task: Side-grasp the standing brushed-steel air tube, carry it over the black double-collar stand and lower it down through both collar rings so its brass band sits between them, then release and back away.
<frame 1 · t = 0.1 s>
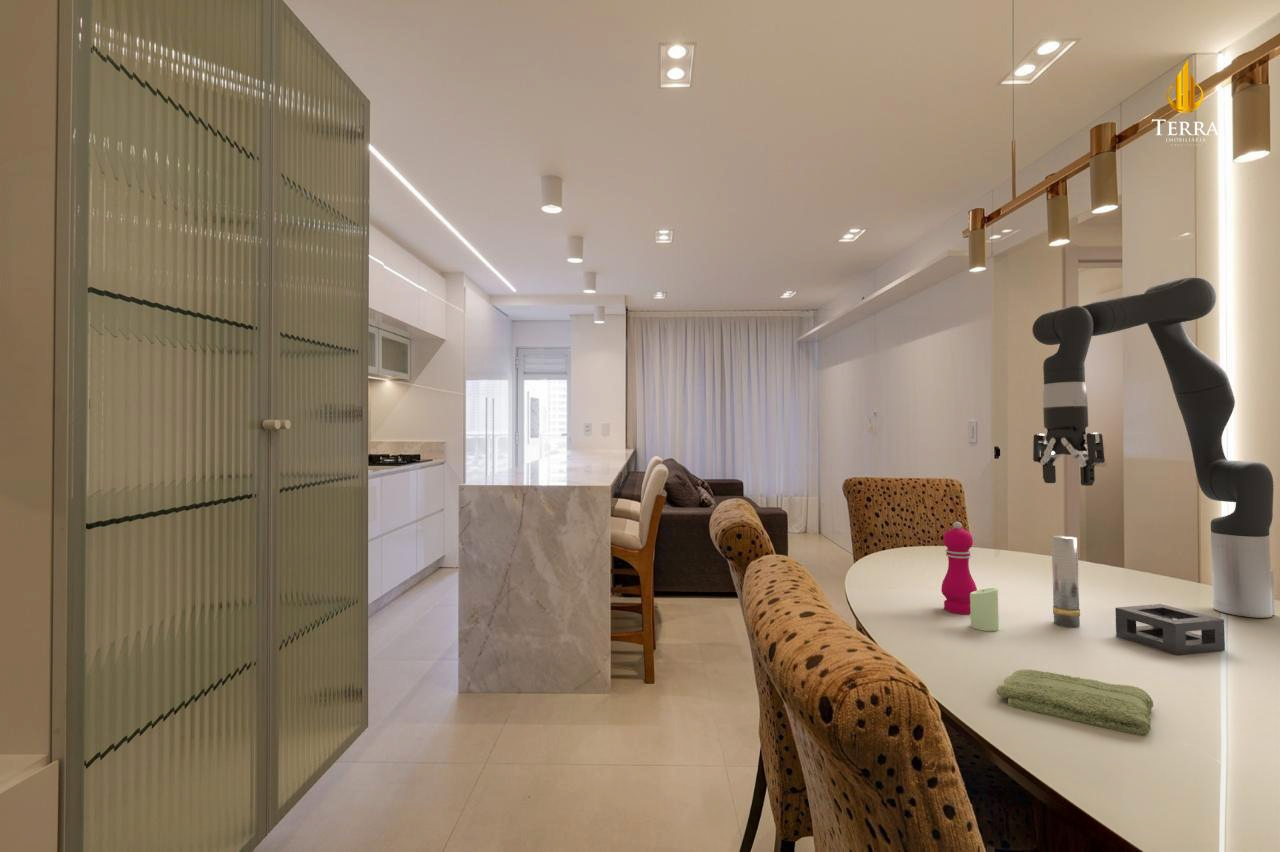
hand: (1067, 484, 125), 29 cm above the table, tool pointing down, fingers open, 8 cm apart
pepper mill: (959, 611, 137), on the table
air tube: (1066, 624, 126), on the table
collar stand: (1168, 642, 114), on the table
candle: (984, 628, 124), on the table
washcloth: (1073, 709, 88), on the table
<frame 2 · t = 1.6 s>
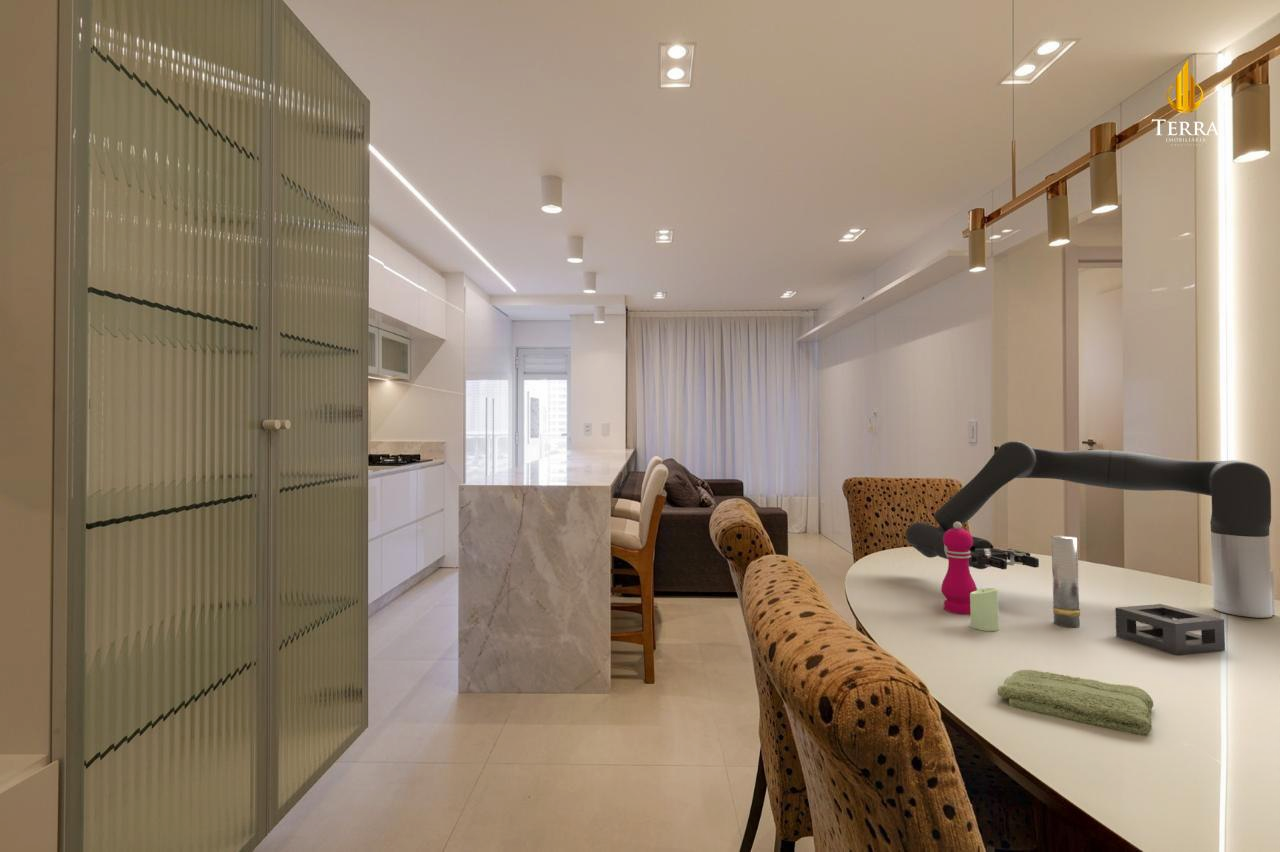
hand: (1021, 563, 137), 10 cm above the table, tool horizontal, fingers open, 8 cm apart
nothing on the table moved.
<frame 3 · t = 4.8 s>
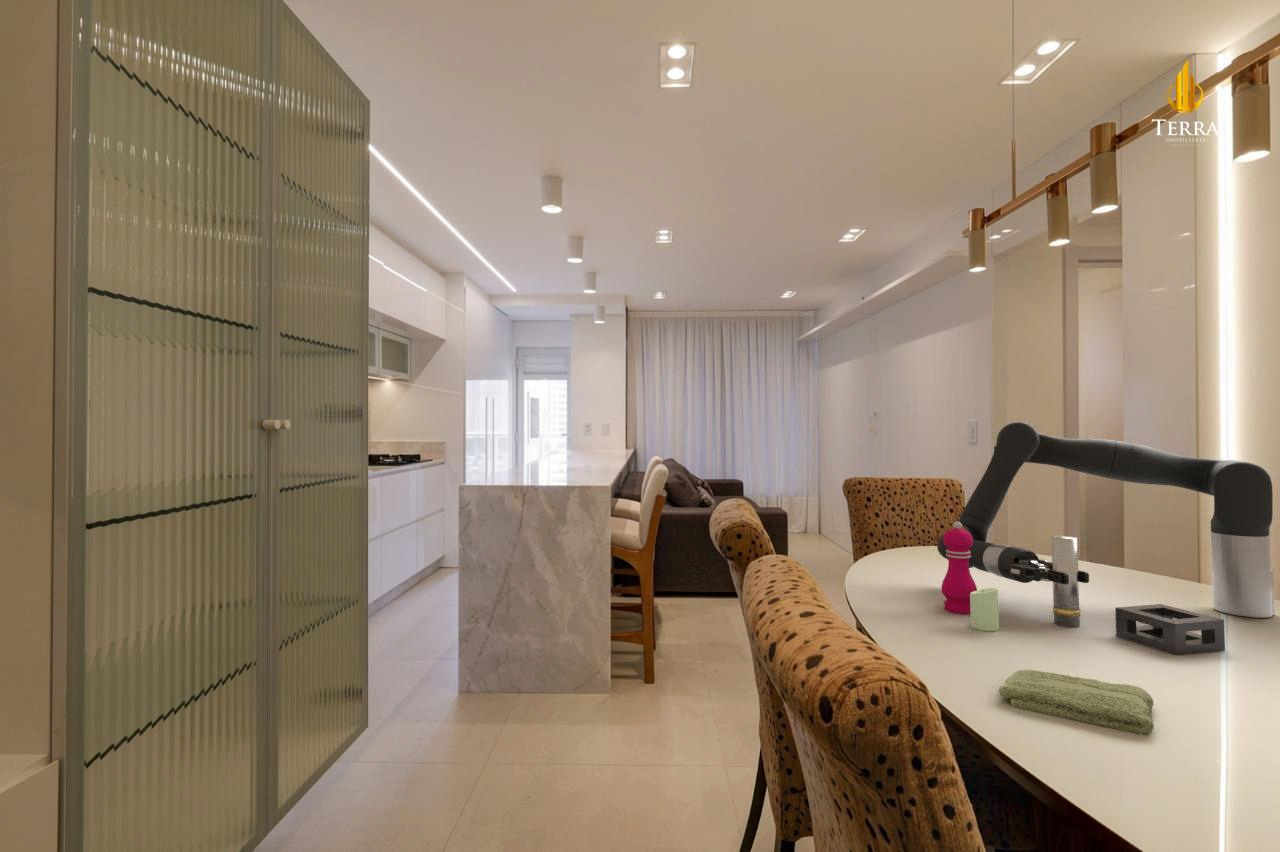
hand: (1077, 578, 124), 10 cm above the table, tool horizontal, fingers closed on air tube, 4 cm apart
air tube: (1066, 624, 126), on the table, touching gripper
everything else where it was.
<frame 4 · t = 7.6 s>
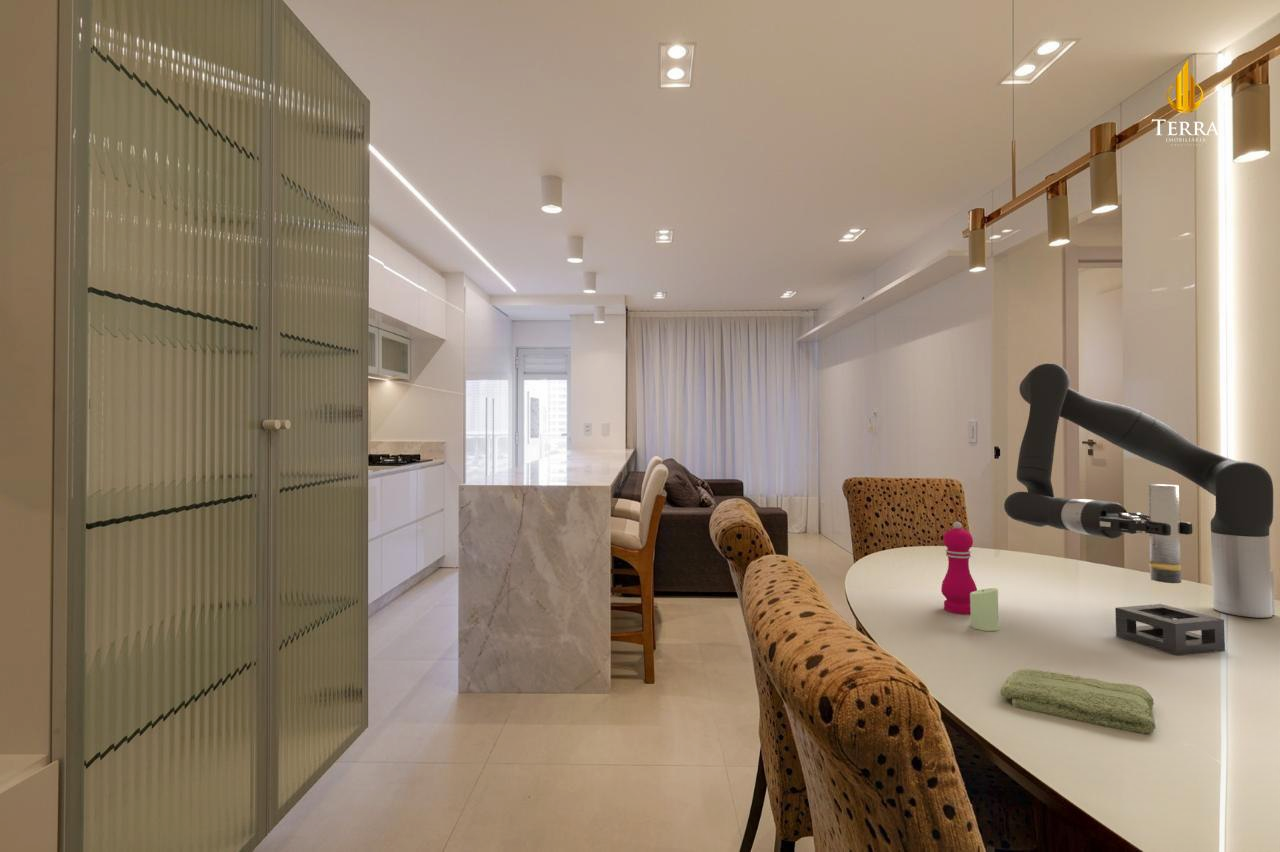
hand: (1179, 529, 112), 22 cm above the table, tool horizontal, fingers closed on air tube, 4 cm apart
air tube: (1165, 580, 114), point 12 cm above the table, touching gripper
everything else where it was.
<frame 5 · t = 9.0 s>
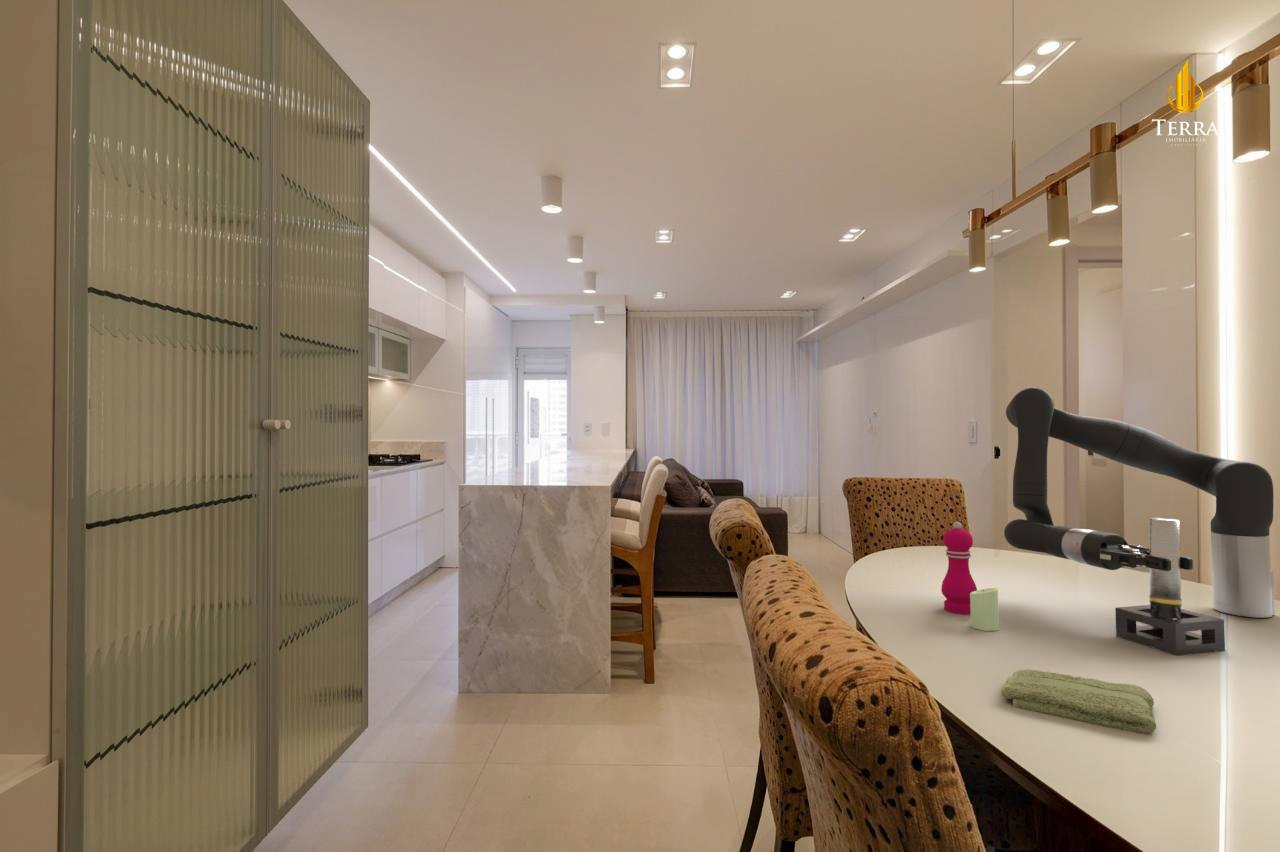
hand: (1180, 564, 112), 15 cm above the table, tool horizontal, fingers closed on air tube, 4 cm apart
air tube: (1165, 615, 114), point 5 cm above the table, touching gripper
everything else where it was.
when the fingers open (11 cm above the table, at t = 10.3 s): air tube drops 1 cm, resting in collar stand.
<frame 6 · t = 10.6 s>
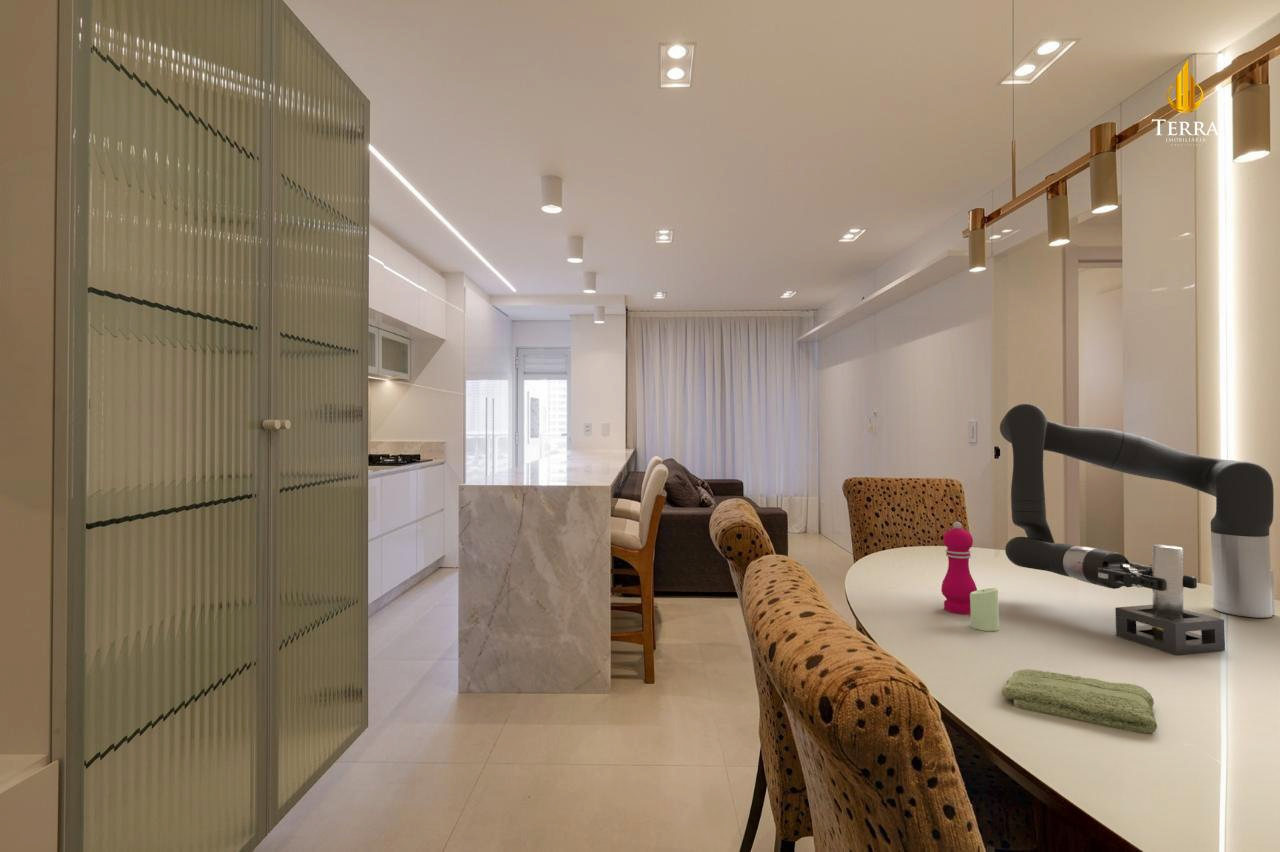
hand: (1179, 584, 112), 11 cm above the table, tool horizontal, fingers open, 6 cm apart
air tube: (1167, 642, 114), resting in collar stand
everything else where it was.
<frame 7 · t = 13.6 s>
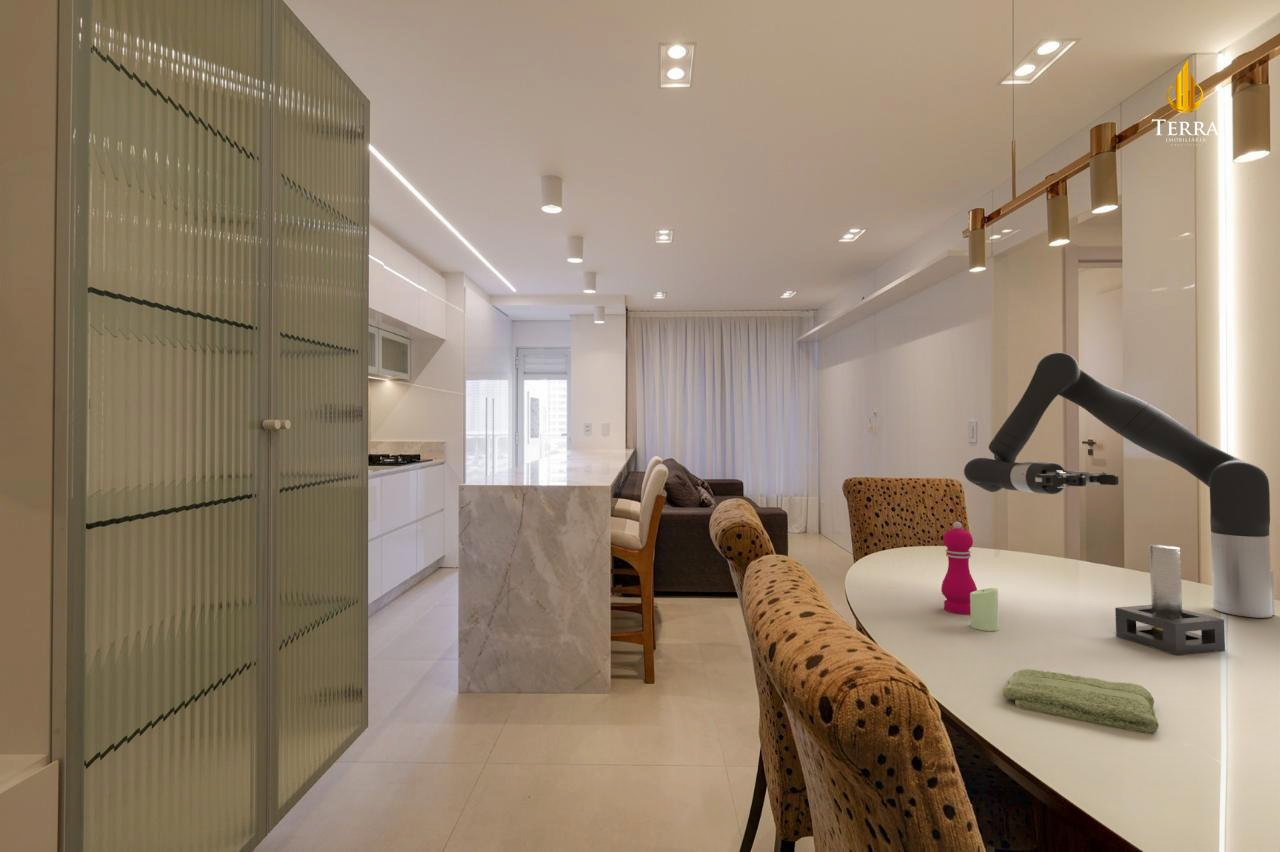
hand: (1101, 480, 131), 29 cm above the table, tool horizontal, fingers open, 8 cm apart
nothing on the table moved.
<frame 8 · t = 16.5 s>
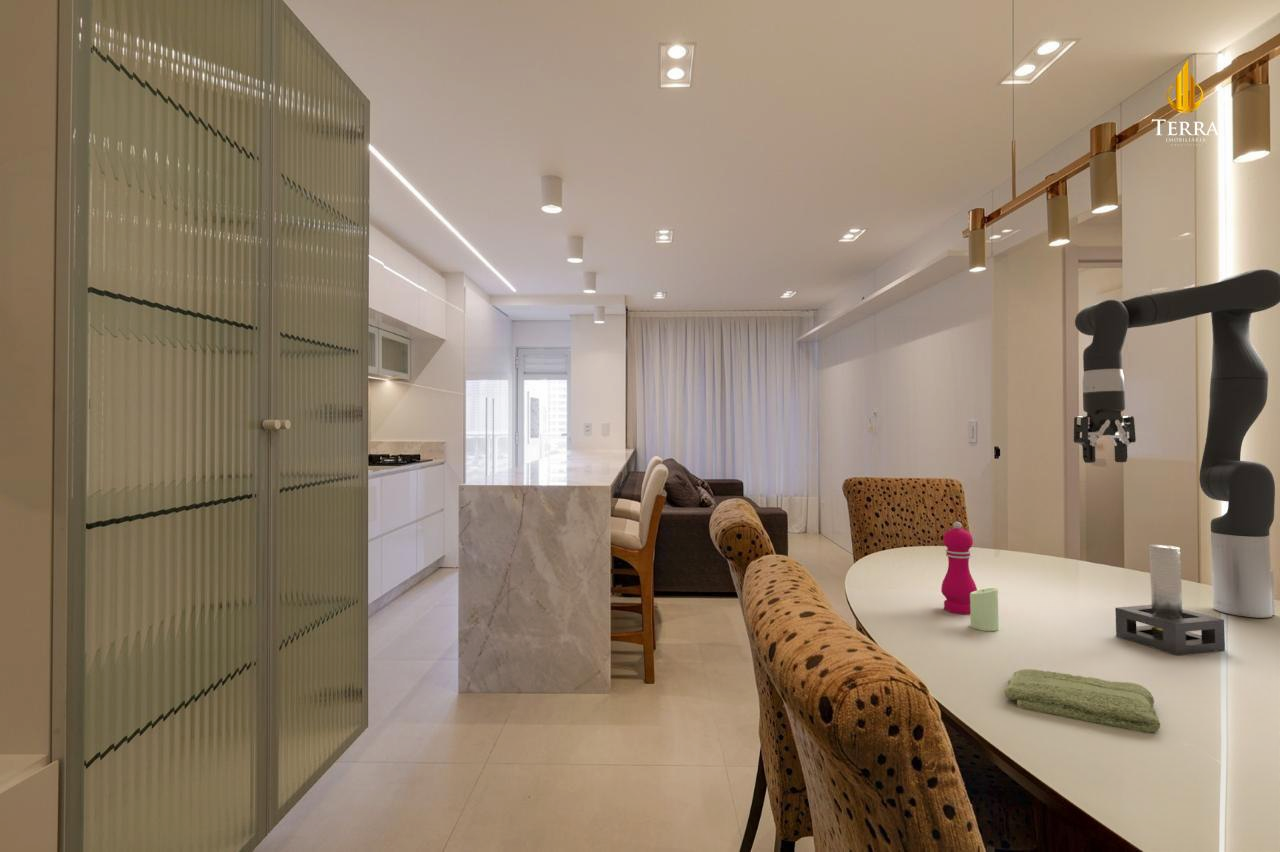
hand: (1105, 462, 137), 33 cm above the table, tool pointing down, fingers open, 8 cm apart
nothing on the table moved.
at the end: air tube 0.1 cm off-centre on the collar stand, point 0.0 cm above the collar stand's base; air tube tilted 0°; the gripper is holding nothing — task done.
